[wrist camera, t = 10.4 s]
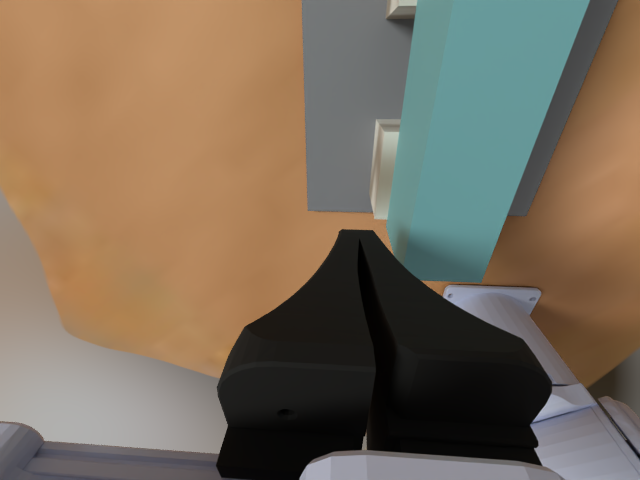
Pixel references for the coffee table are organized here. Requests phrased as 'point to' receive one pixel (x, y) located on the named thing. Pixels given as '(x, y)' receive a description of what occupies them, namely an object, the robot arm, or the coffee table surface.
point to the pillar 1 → (383, 165)
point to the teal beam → (471, 125)
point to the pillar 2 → (401, 9)
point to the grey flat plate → (396, 96)
